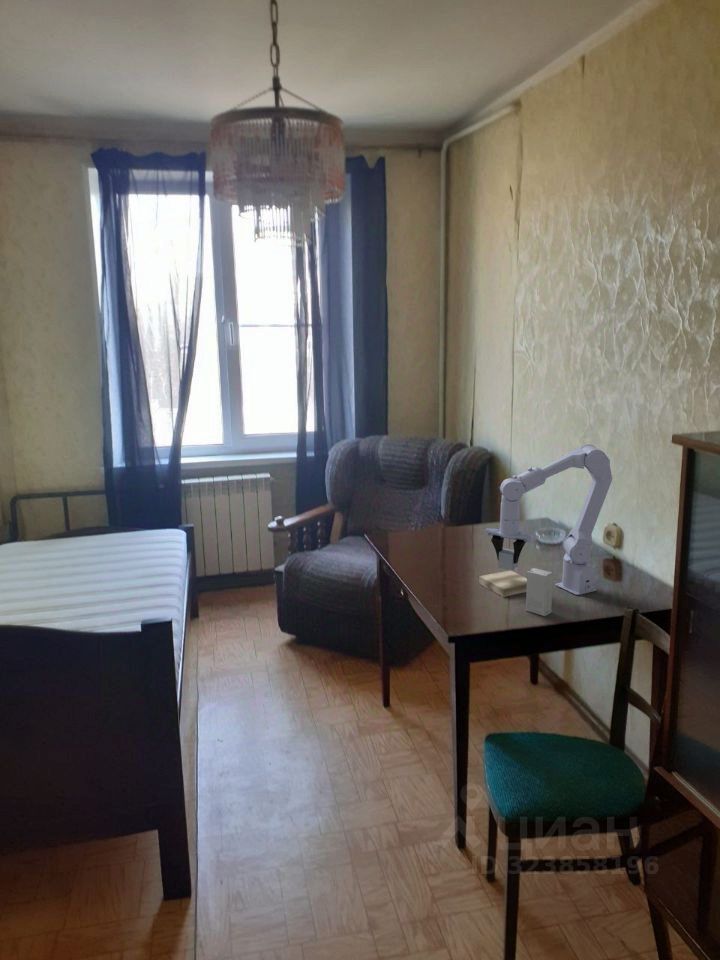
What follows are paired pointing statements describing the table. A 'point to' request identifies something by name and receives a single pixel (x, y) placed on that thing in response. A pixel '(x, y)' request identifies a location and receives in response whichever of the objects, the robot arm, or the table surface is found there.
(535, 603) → the skincare box
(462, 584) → the table surface
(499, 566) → the slate block
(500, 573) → the birch base
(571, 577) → the robot arm
